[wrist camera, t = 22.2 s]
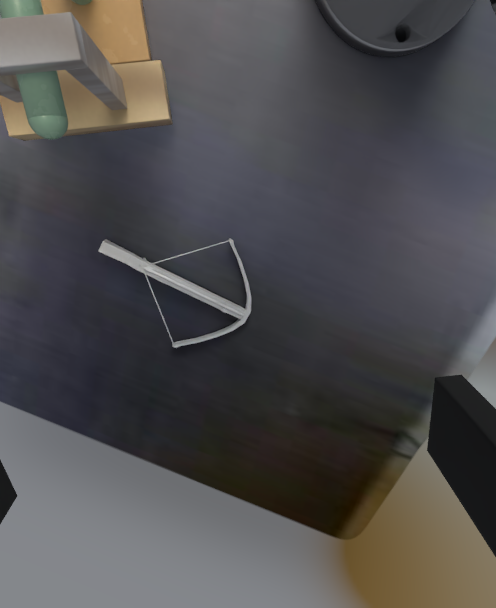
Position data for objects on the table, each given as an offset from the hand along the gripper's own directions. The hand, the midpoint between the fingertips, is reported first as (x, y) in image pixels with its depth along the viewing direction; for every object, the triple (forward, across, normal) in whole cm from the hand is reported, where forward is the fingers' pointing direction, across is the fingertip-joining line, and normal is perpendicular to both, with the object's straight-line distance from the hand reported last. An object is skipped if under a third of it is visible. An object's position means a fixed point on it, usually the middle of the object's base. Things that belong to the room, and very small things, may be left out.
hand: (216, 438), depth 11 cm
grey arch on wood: (+26, -9, +12) cm, 30 cm away
